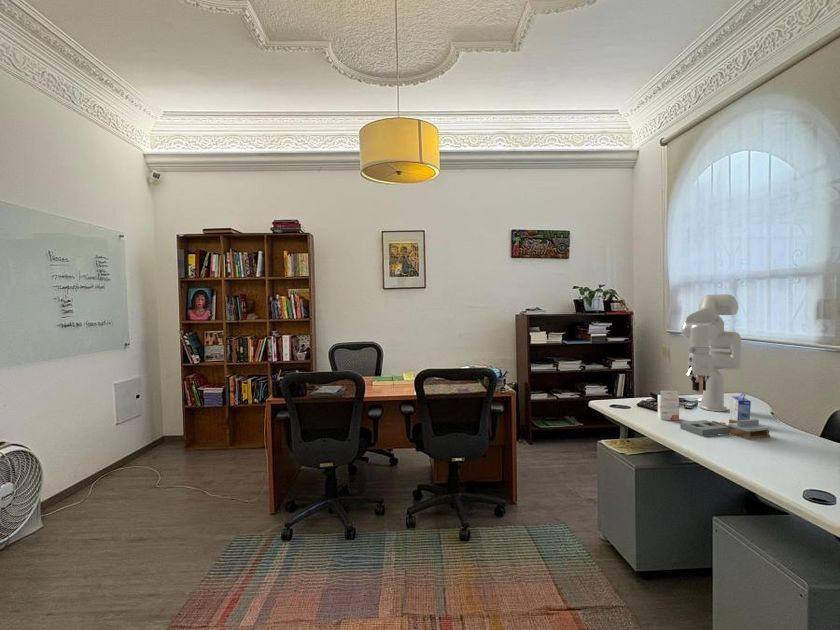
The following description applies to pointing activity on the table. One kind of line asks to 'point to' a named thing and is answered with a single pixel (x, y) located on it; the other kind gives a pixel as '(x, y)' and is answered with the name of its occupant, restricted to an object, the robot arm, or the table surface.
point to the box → (743, 433)
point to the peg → (700, 384)
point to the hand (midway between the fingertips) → (699, 389)
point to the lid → (748, 425)
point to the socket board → (704, 428)
